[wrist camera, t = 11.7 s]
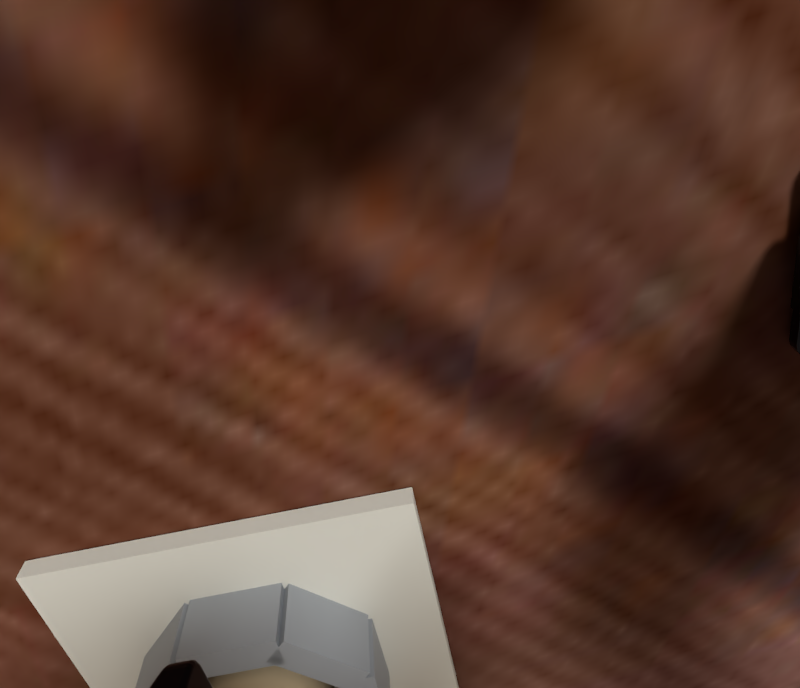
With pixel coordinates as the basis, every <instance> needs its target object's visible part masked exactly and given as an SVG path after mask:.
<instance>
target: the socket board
mask: <svg viewBox="0 0 800 688" xmlns="http://www.w3.org/2000/svg"><path fill="white" fill-rule="evenodd" d="M16 580H17V582H18V583H19V585H20V586H21V588H22V589H23V590H24V592H25V593H26V595H27V596H28V598H29V599H30V601H31V602H32V604H33V605H34V607H35V608H36V609H37V611H38V612H39V614H40V615H41V617H42V618H43V620H44V621H45V623H46V624H47V626H48V627H49V628H50V630H51V631H52V633H53V634H54V636H55V637H56V639H57V640H58V642H59V643H60V644H61V646H62V647H63V649H64V650H65V652H66V653H67V655H68V656H69V658H70V659H71V661H72V662H73V663H74V665H75V666H76V668H77V669H78V671H79V672H80V674H81V675H82V677H83V678H84V680H85V681H86V682H87V684H88V685H89V687H90V688H150V686H151V685H152V683H153V682H154V680H155V679H156V677H157V676H158V675H159V673H160V672H161V671H162V669H163V668H164V667H166V666H167V665H169V664H171V663H176V662H182V661H187V660H196V661H197V662H199V664H200V665H201V667H202V668H203V670H204V672H205V674H206V676H207V678H209V677H215V676H220V675H225V674H231V673H236V672H242V671H247V670H253V669H258V668H263V667H269V666H274V665H275V666H278V667H281V668H284V669H287V670H290V671H293V672H295V673H298V674H301V675H304V676H307V677H310V678H313V679H316V680H318V681H321V682H324V683H327V684H330V685H333V686H334V688H459V686H458V682H457V677H456V673H455V669H454V664H453V660H452V656H451V652H450V647H449V643H448V639H447V635H446V630H445V626H444V622H443V617H442V613H441V609H440V605H439V600H438V596H437V592H436V588H435V583H434V579H433V575H432V571H431V566H430V562H429V558H428V553H427V549H426V545H425V541H424V536H423V532H422V528H421V524H420V519H419V515H418V511H417V506H416V502H415V498H414V494H413V489H412V487H410V488H405V489H399V490H394V491H389V492H384V493H379V494H373V495H368V496H363V497H358V498H352V499H347V500H342V501H337V502H332V503H326V504H321V505H316V506H311V507H305V508H300V509H295V510H290V511H284V512H279V513H274V514H269V515H264V516H258V517H253V518H248V519H243V520H237V521H232V522H227V523H222V524H217V525H211V526H206V527H201V528H196V529H190V530H185V531H180V532H175V533H170V534H164V535H159V536H154V537H149V538H143V539H138V540H133V541H128V542H123V543H117V544H112V545H107V546H102V547H96V548H91V549H86V550H81V551H76V552H70V553H65V554H60V555H55V556H49V557H44V558H39V559H34V560H28V561H25V563H24V564H23V566H22V568H21V570H20V572H19V574H18V575H17V577H16Z"/></svg>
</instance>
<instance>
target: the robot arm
mask: <svg viewBox="0 0 800 688" xmlns="http://www.w3.org/2000/svg"><path fill="white" fill-rule="evenodd" d="M791 308H792V309H793V313H792V321H791V329H790V338H789V341H790V345H791V346H792V347H793V348H794V349H795V350H796V351H797V352H798V353H799V354H800V234H799V238H798V246H797V255H796V264H795V272H794V281H793V289H792V298H791ZM150 688H213V687H212V685H211V683H210V682H209V680H208V678H207V676H206V674H205V672H204V670H203V668H202V667H201V665H200V664H199V662H197V661H196V660H187V661H182V662H176V663H171V664H169V665H167V666H166V667H164V668H163V669H162V671H161V672H160V673H159V675H158V676H157V677H156V679H155V680H154V682H153V683H152V685H151V686H150Z"/></svg>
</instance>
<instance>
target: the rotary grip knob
mask: <svg viewBox="0 0 800 688" xmlns="http://www.w3.org/2000/svg"><path fill="white" fill-rule="evenodd" d="M208 680H209V682H210V683H211V685H212V687H213V688H334V686H333V685H330V684H327V683H324V682H321V681H318V680H316V679H313V678H310V677H307V676H304V675H301V674H298V673H295V672H293V671H290V670H287V669H284V668H281V667H278V666H275V665H274V666H269V667H263V668H258V669H253V670H247V671H242V672H236V673H231V674H225V675H220V676H215V677H209V678H208Z"/></svg>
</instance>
